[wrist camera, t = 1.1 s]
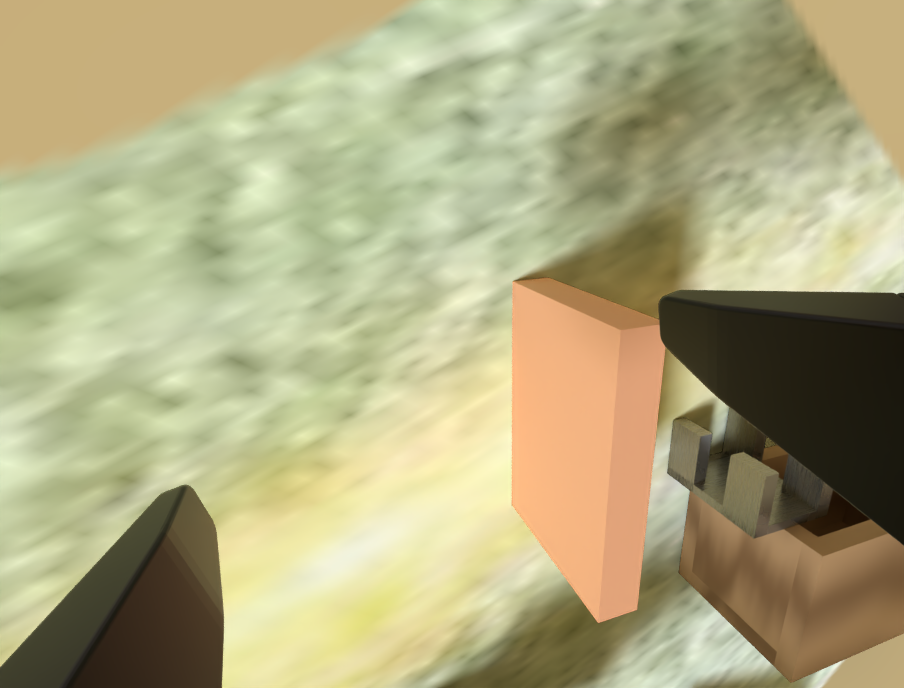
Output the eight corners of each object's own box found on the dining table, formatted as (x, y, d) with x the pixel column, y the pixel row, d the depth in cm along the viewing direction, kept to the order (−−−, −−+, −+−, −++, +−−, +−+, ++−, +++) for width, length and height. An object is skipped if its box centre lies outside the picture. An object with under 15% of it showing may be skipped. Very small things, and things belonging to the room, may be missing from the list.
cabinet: (835, 521, 38) (969, 604, 30) (678, 572, 33) (791, 682, 26) (860, 423, 35) (1013, 489, 28) (693, 466, 31) (822, 556, 24)
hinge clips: (731, 456, 32) (826, 515, 26) (667, 473, 30) (754, 539, 25) (740, 405, 30) (841, 455, 25) (673, 420, 29) (765, 476, 24)
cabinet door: (551, 493, 28) (649, 605, 21) (511, 504, 27) (598, 623, 20) (558, 275, 24) (683, 320, 17) (511, 281, 23) (620, 330, 16)
